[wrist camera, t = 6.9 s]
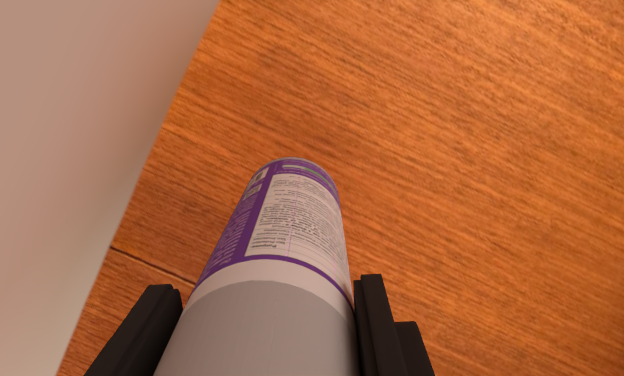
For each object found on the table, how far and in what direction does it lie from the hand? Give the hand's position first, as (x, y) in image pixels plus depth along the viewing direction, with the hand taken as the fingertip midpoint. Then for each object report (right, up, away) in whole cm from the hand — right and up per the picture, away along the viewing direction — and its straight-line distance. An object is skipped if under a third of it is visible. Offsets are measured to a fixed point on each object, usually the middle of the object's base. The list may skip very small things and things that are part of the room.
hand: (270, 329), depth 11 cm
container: (0, +3, +10) cm, 10 cm away
